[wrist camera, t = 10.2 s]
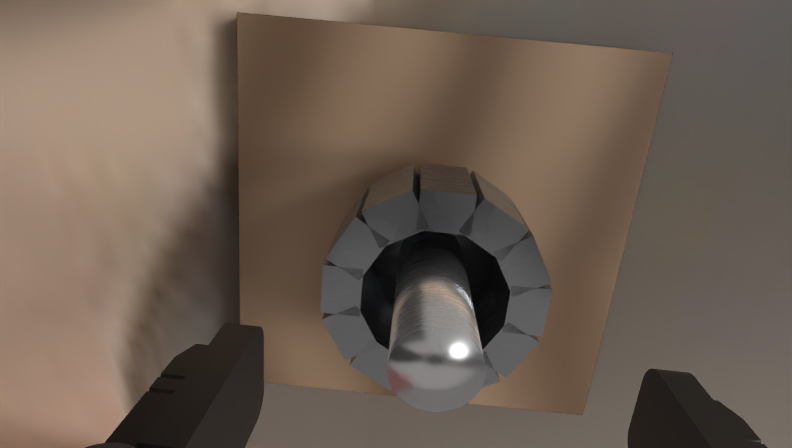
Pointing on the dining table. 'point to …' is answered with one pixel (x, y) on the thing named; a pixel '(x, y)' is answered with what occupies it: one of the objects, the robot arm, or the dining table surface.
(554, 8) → the dining table surface
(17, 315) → the dining table surface
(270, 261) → the board
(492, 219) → the ring
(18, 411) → the dining table surface
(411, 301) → the post
